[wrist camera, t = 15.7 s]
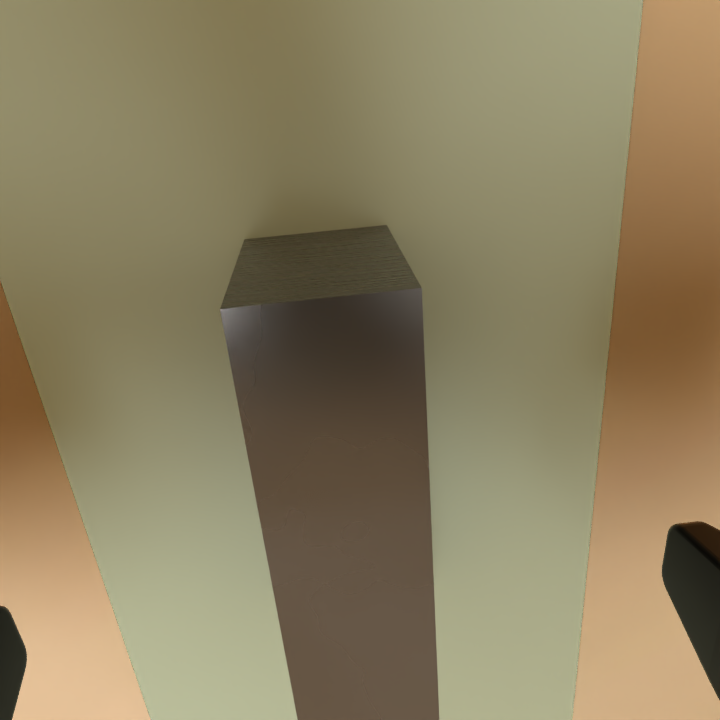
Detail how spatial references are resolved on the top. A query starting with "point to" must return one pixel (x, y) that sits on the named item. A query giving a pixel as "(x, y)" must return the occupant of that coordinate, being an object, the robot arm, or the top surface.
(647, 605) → the top surface
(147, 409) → the lid
